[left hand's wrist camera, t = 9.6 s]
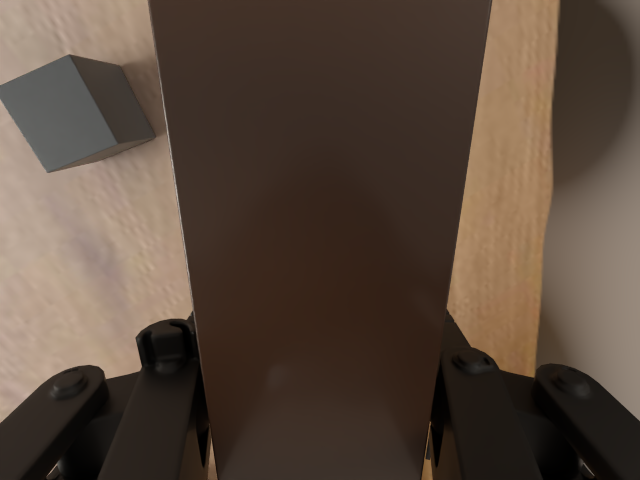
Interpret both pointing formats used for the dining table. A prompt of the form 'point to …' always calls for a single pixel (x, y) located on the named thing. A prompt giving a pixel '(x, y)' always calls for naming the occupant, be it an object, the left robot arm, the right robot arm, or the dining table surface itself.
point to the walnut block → (319, 219)
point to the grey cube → (76, 112)
